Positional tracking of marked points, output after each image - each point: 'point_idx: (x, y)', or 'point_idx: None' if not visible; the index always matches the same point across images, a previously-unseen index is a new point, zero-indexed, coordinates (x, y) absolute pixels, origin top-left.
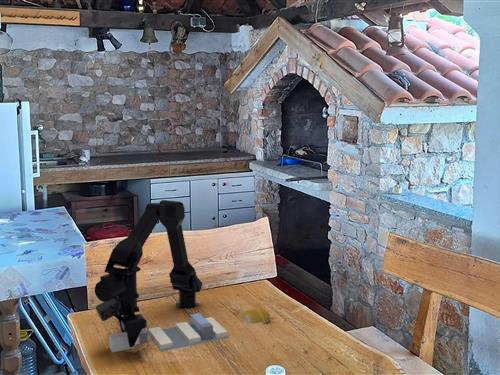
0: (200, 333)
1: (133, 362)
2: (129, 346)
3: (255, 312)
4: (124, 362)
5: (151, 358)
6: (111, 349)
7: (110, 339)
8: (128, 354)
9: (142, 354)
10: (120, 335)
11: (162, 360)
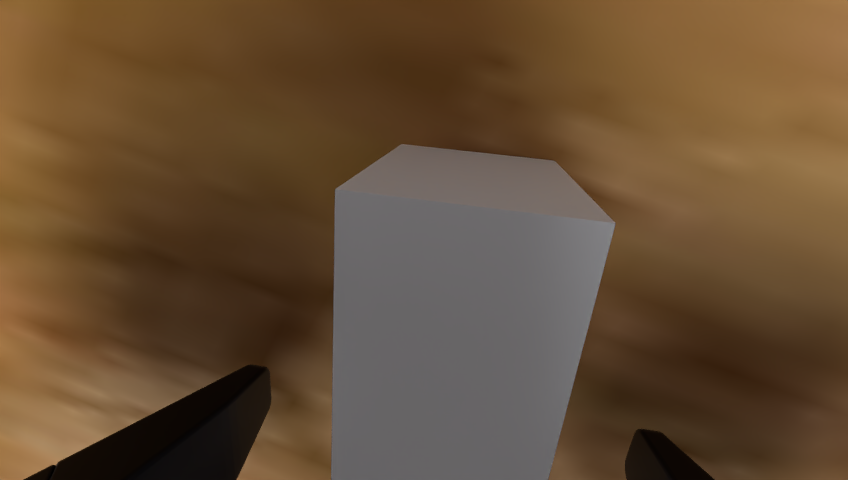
0: None
1: (60, 263)
2: (259, 367)
3: None
4: (80, 182)
5: (102, 421)
6: (418, 151)
7: (456, 189)
8: (257, 292)
9: None
10: (424, 411)
11: (46, 466)
